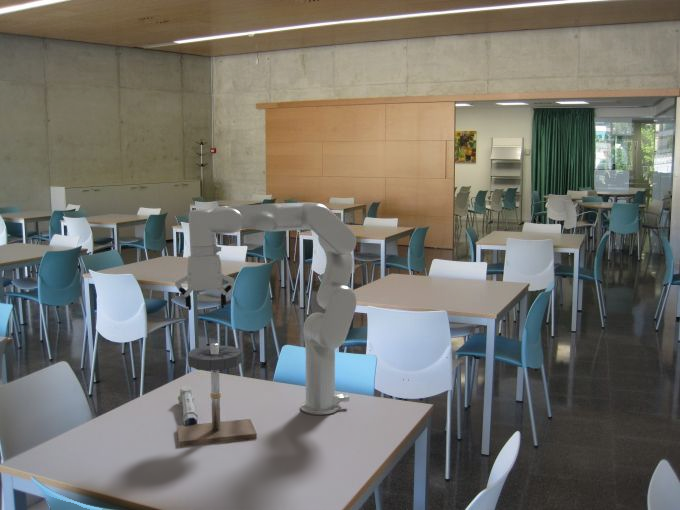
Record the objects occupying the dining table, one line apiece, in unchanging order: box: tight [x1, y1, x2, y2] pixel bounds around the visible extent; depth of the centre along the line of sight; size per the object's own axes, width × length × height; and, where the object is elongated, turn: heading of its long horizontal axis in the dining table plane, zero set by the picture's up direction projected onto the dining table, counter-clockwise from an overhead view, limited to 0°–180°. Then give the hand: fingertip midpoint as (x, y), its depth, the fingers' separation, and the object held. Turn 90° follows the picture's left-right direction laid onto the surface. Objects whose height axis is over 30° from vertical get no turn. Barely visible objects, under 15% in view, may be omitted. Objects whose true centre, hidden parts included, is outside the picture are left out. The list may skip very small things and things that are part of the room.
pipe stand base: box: [176, 418, 258, 448], centre depth 208 cm, size 22×12×2 cm, turn 106°
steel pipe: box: [209, 342, 221, 431], centre depth 206 cm, size 3×3×26 cm
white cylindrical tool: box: [177, 385, 198, 425], centre depth 224 cm, size 5×7×25 cm
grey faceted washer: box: [187, 344, 243, 371], centre depth 205 cm, size 15×15×3 cm
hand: (206, 308), depth 210 cm, fingers open, 9 cm apart
